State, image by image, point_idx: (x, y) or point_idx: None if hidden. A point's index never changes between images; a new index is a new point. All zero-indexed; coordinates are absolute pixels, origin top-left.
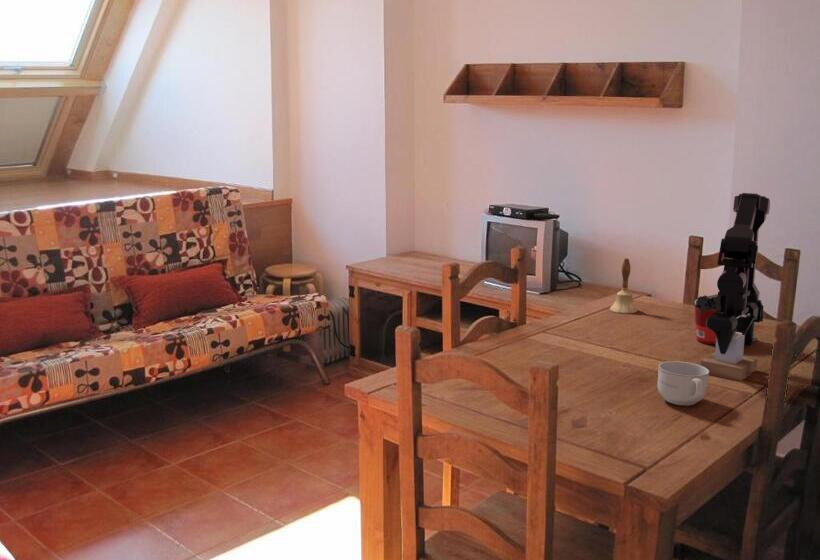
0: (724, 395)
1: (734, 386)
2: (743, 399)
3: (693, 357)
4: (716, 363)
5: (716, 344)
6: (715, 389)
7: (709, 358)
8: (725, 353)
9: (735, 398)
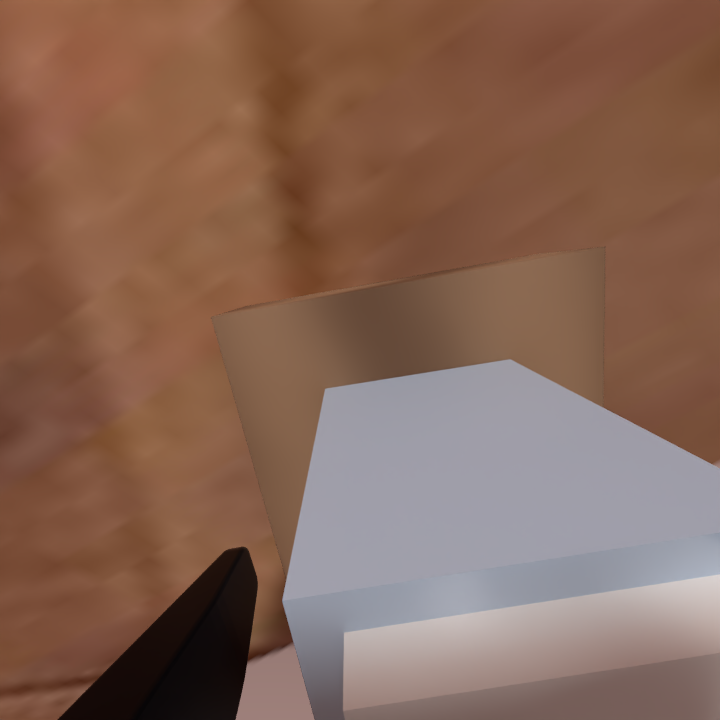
0: (39, 600)
1: (203, 564)
2: (82, 672)
3: (526, 50)
4: (256, 447)
5: (308, 485)
6: (69, 530)
7: (326, 335)
8: (252, 593)
9: (57, 647)
